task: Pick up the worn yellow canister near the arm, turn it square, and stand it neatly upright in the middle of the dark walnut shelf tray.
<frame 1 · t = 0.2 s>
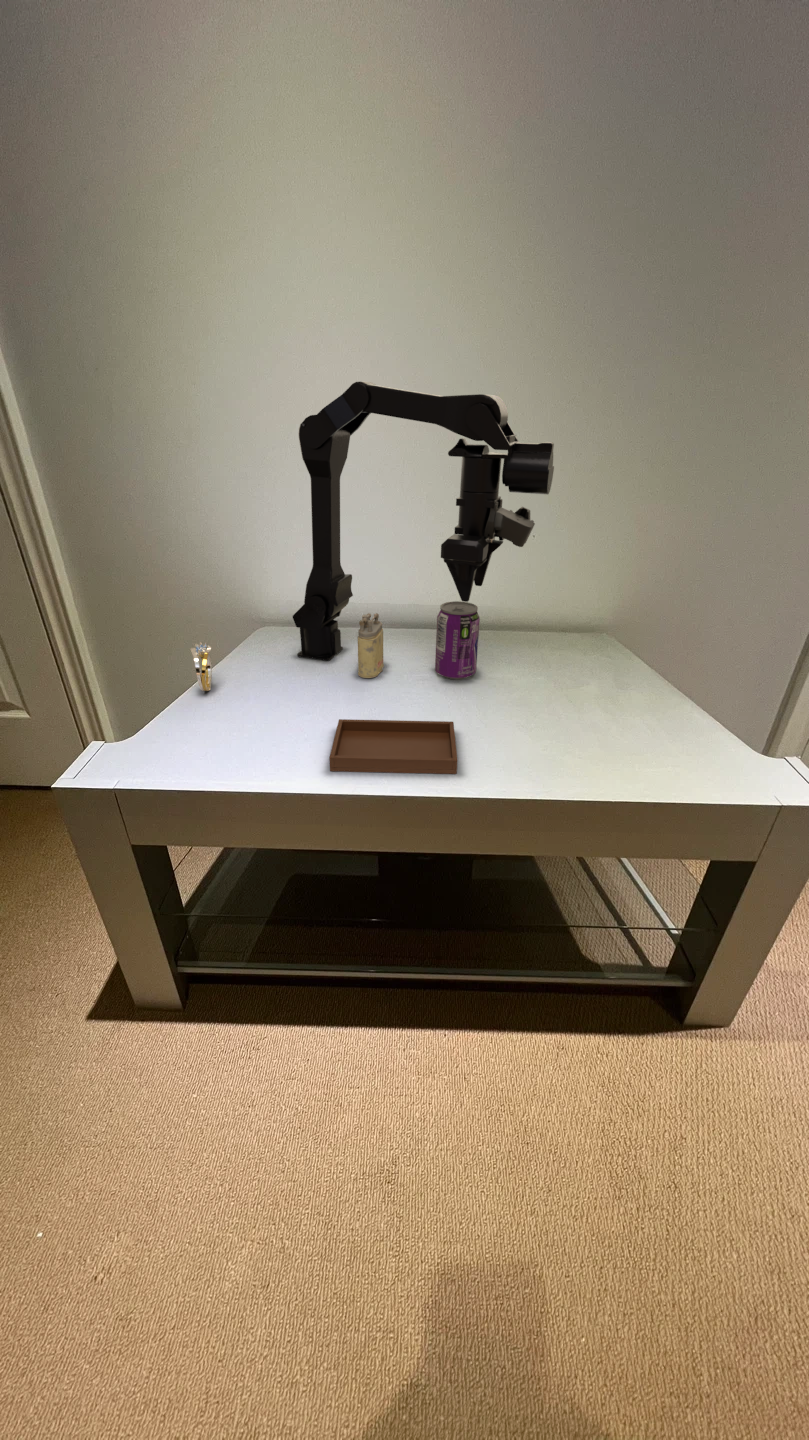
hand: (472, 593, 96), 15 cm above the table, tool pointing down, fingers open, 9 cm apart
beverage can: (455, 674, 103), on the table
ring: (207, 691, 96), on the table
shelf tray: (394, 751, 80), on the table
worn yellow canister: (372, 671, 104), on the table
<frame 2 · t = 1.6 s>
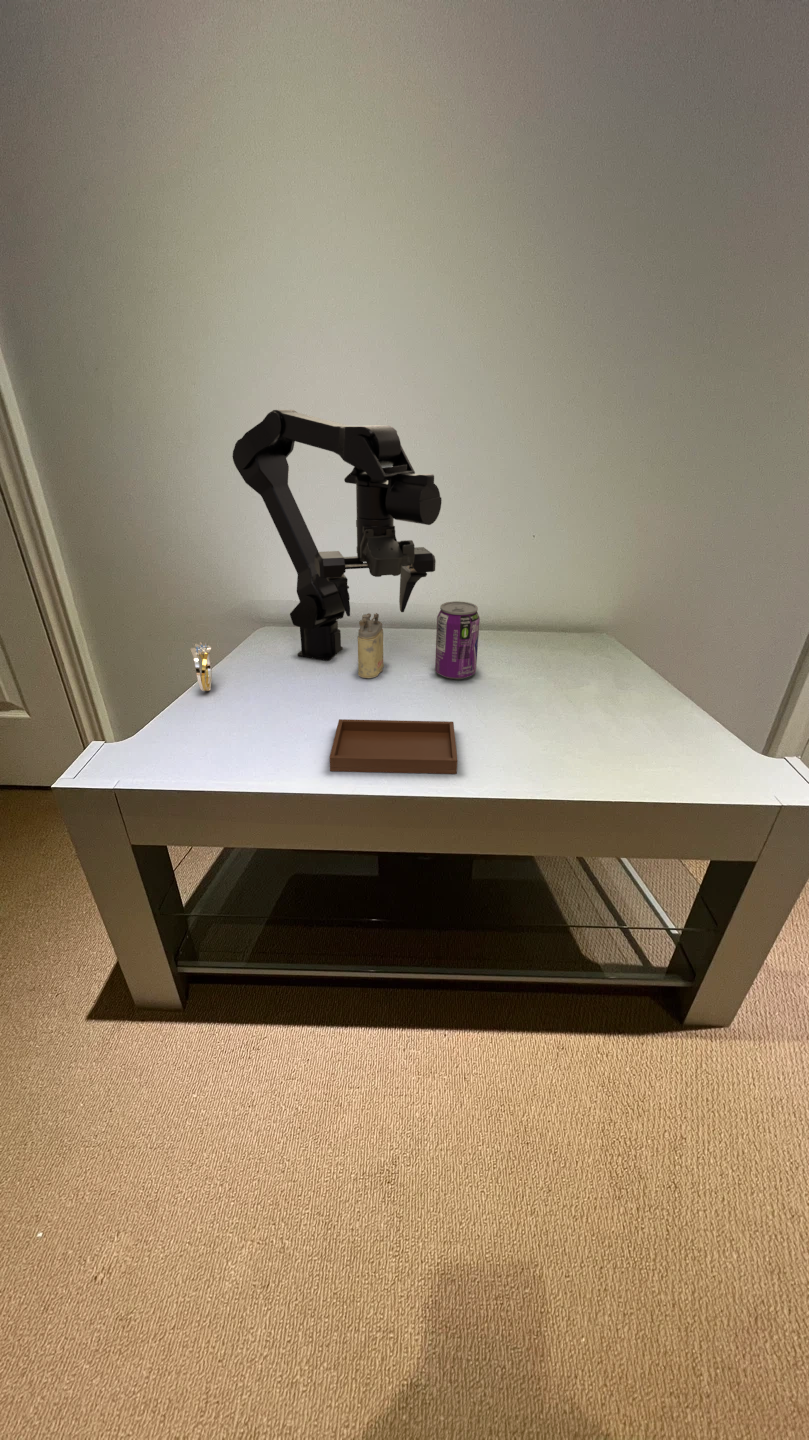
hand: (375, 613, 99), 10 cm above the table, tool pointing down, fingers open, 9 cm apart
nothing on the table moved.
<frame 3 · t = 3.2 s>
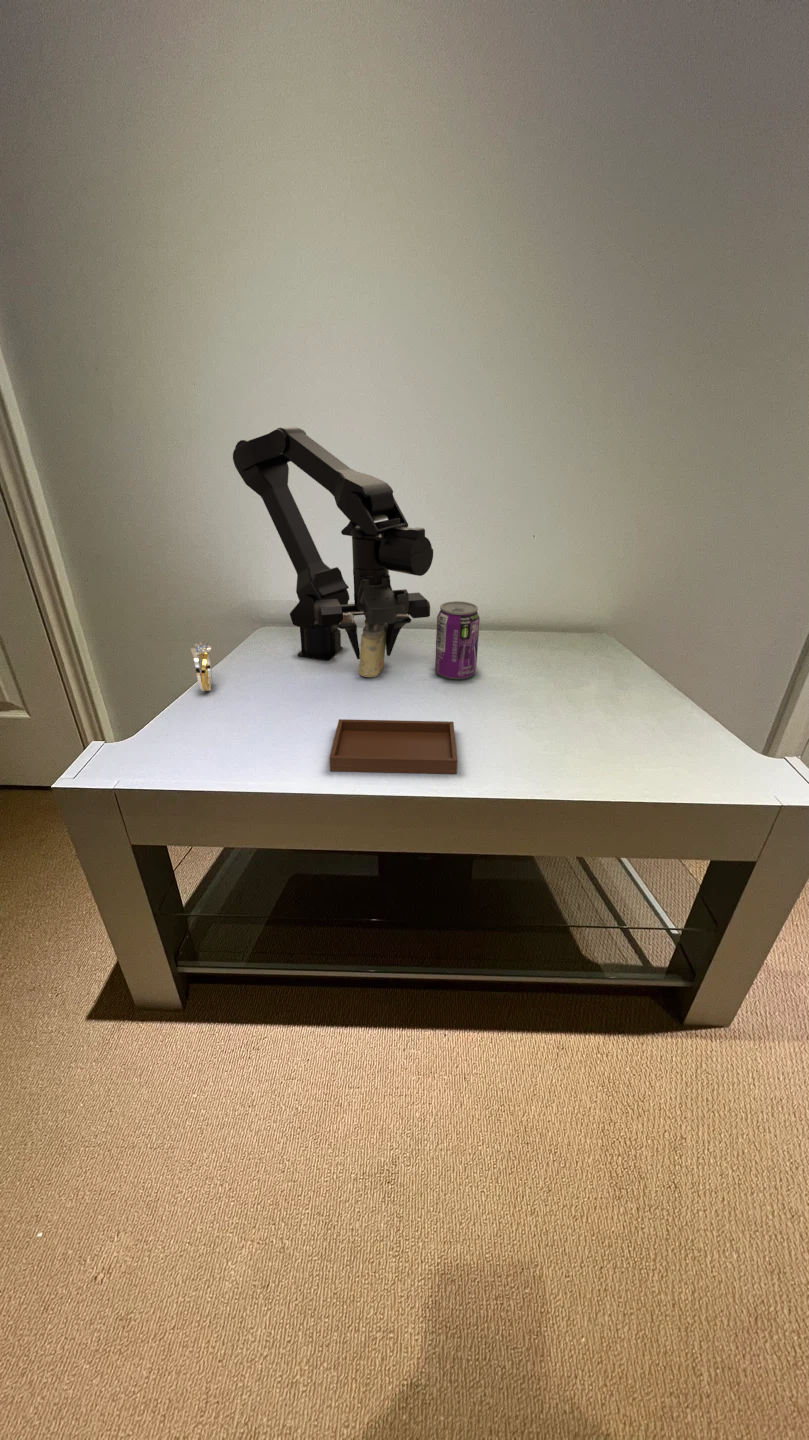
hand: (373, 656, 102), 3 cm above the table, tool pointing down, fingers closed on worn yellow canister, 5 cm apart
worn yellow canister: (372, 671, 104), on the table, touching gripper
everything else where it was.
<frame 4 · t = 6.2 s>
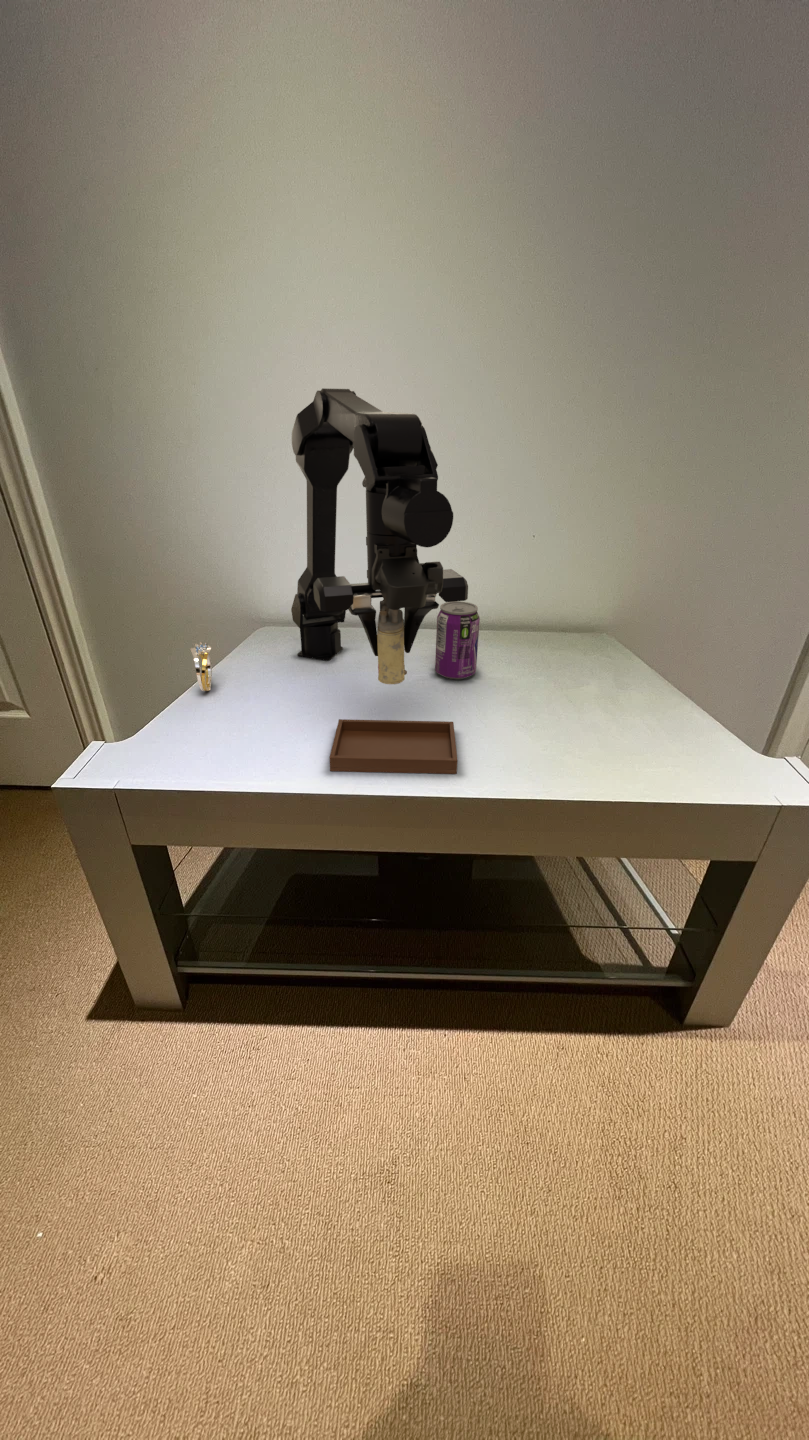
hand: (391, 653, 78), 12 cm above the table, tool pointing down, fingers closed on worn yellow canister, 4 cm apart
worn yellow canister: (392, 675, 80), point 9 cm above the table, touching gripper
everything else where it was.
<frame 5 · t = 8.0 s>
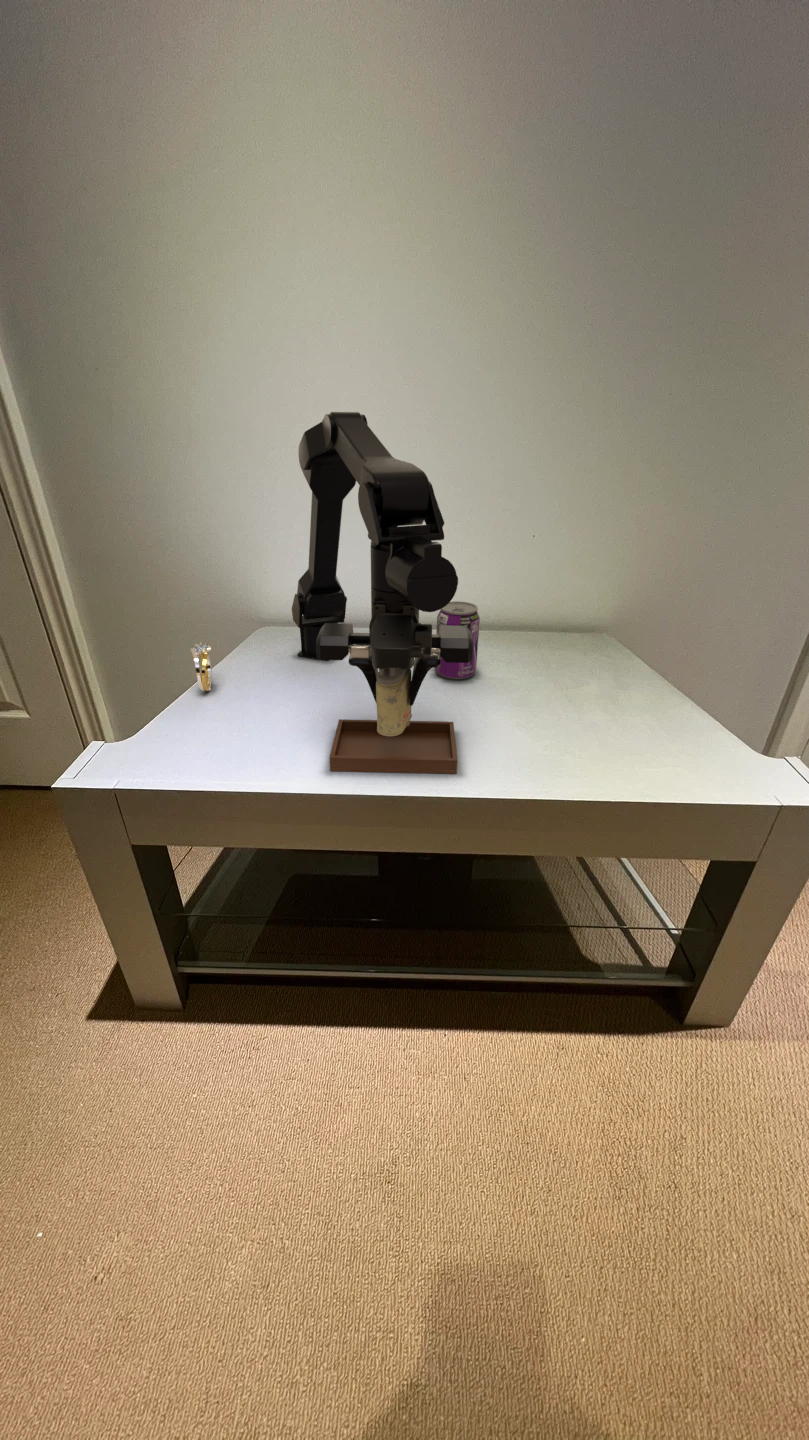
hand: (394, 704, 77), 7 cm above the table, tool pointing down, fingers closed on worn yellow canister, 4 cm apart
worn yellow canister: (395, 725, 78), point 4 cm above the table, touching gripper
everything else where it was.
when the fingers open (4 cm above the table, at t = 9.3 s): worn yellow canister stays where it is, resting on shelf tray.
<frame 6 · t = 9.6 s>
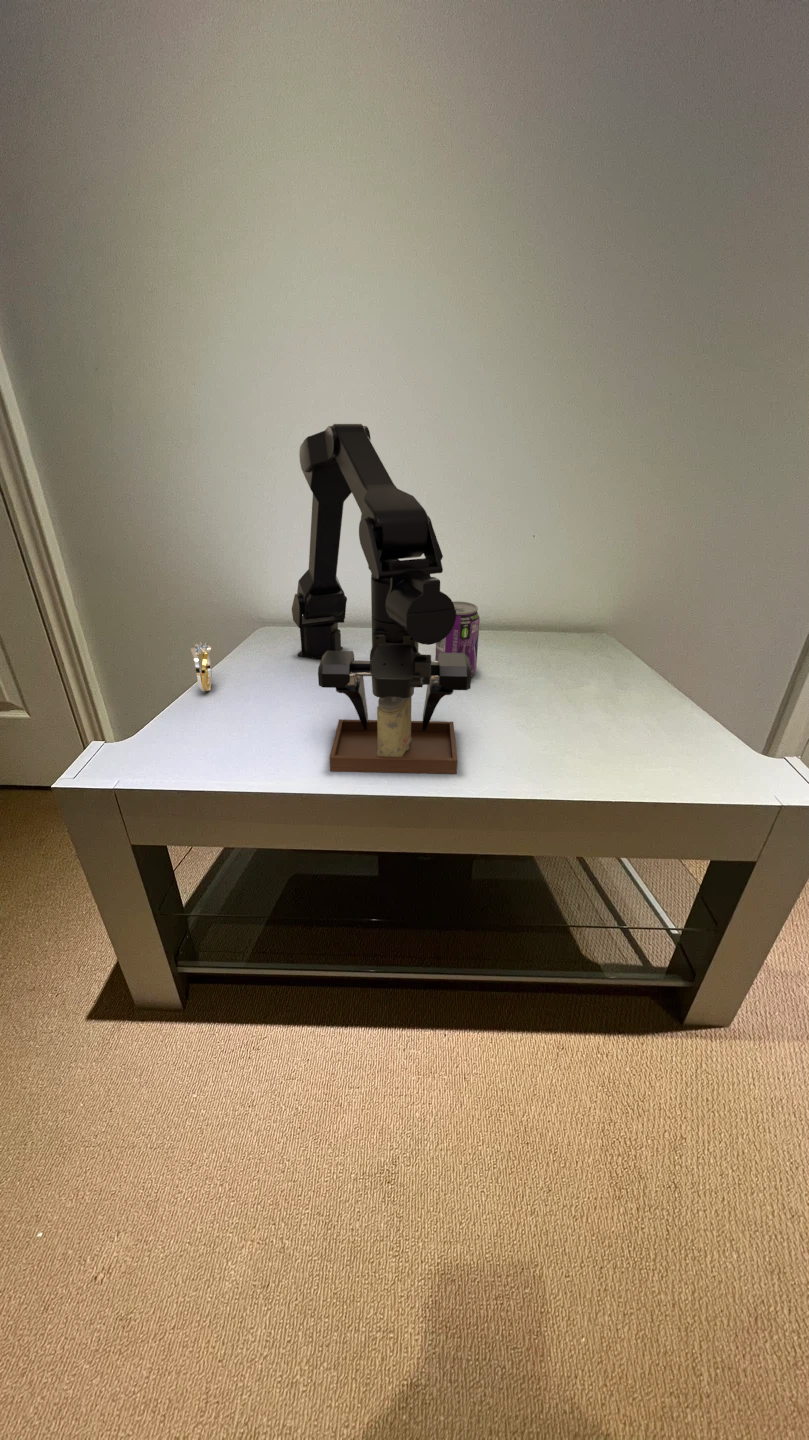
hand: (394, 728, 79), 4 cm above the table, tool pointing down, fingers open, 7 cm apart
worn yellow canister: (395, 749, 80), resting on shelf tray
everything else where it was.
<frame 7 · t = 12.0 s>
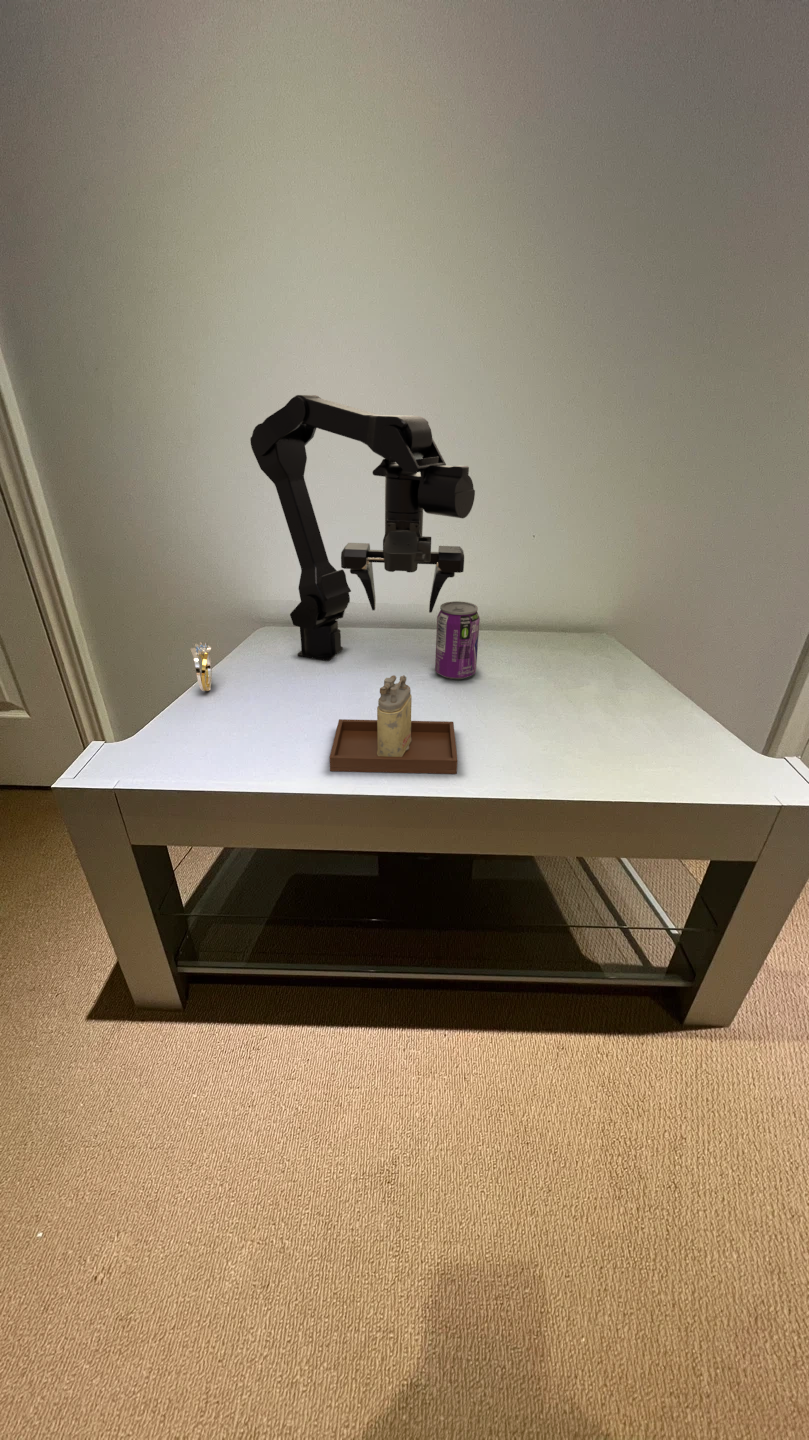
hand: (402, 610, 96), 12 cm above the table, tool pointing down, fingers open, 9 cm apart
nothing on the table moved.
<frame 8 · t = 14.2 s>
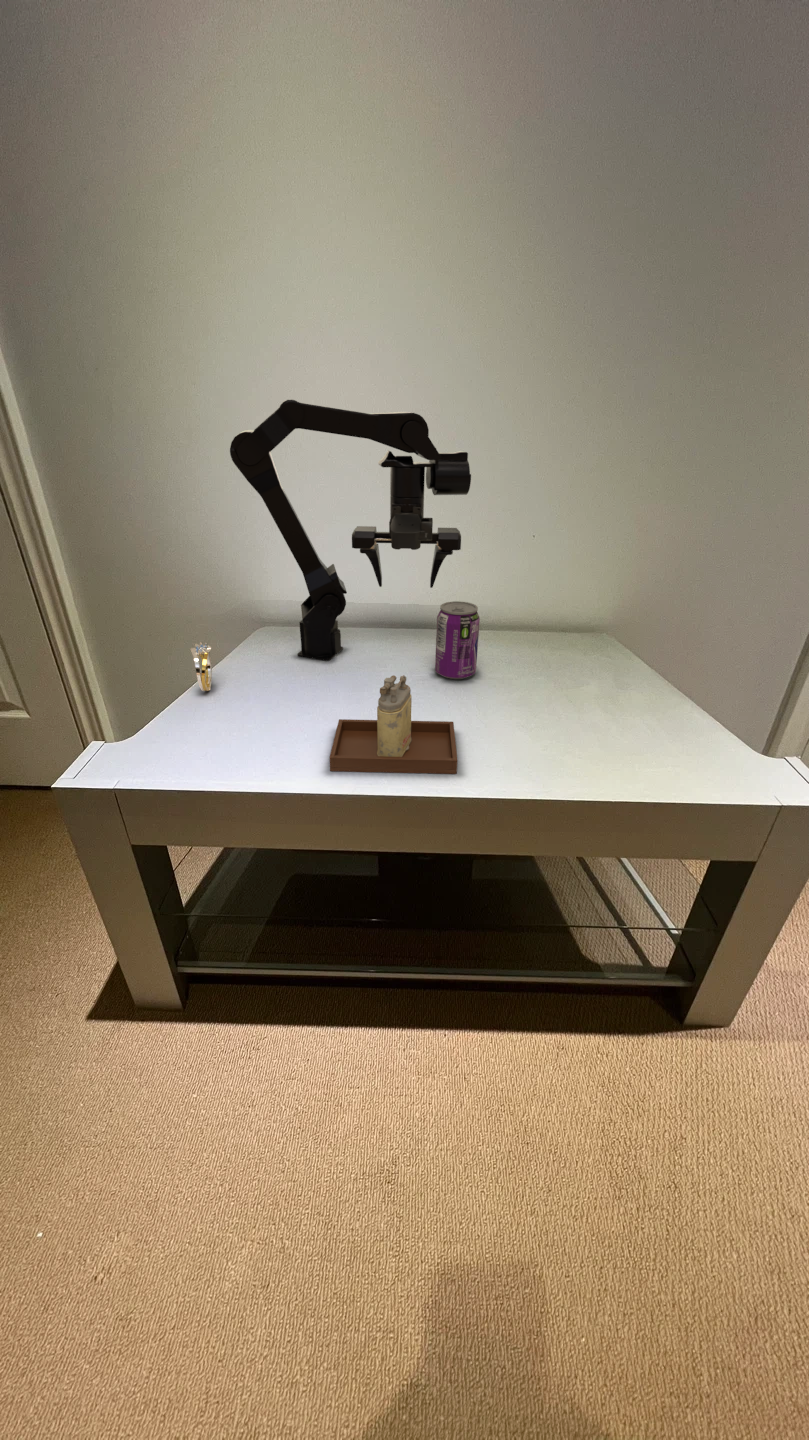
hand: (405, 586, 108), 12 cm above the table, tool pointing down, fingers open, 9 cm apart
nothing on the table moved.
at the end: worn yellow canister inside the target area in the shelf tray (0.1 cm from its centre), point 0.4 cm above the shelf tray's base; worn yellow canister tilted 0°; the gripper is holding nothing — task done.
